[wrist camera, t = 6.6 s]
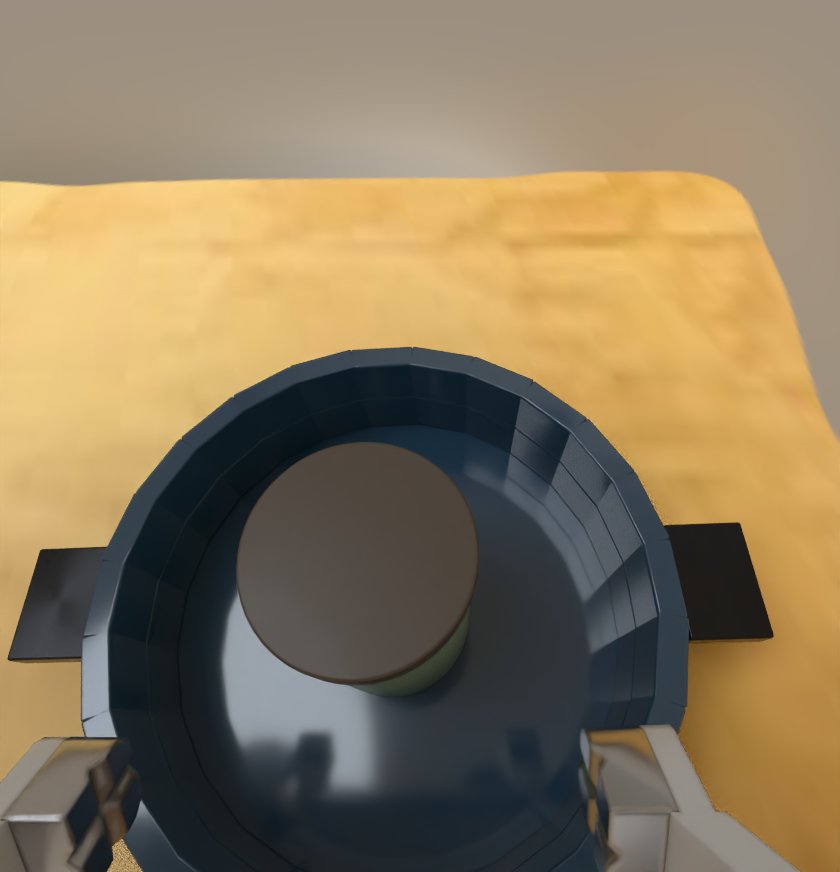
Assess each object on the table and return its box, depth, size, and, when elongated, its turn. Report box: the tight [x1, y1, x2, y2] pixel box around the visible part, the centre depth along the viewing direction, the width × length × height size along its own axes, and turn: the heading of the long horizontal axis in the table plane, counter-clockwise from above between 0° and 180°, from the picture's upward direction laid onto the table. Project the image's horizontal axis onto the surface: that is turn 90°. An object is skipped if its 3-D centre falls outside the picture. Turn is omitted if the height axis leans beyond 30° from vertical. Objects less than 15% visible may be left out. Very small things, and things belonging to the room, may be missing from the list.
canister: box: [236, 442, 479, 697], centre depth 16 cm, size 5×5×8 cm
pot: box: [81, 347, 689, 872], centre depth 18 cm, size 17×17×4 cm
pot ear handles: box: [8, 522, 774, 663], centre depth 16 cm, size 21×3×1 cm, turn 91°
